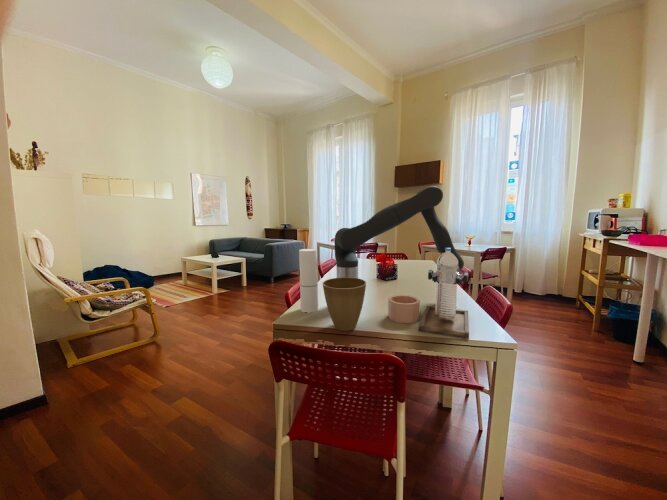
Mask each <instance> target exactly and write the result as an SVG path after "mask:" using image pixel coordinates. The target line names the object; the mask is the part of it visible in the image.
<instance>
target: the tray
mask: <svg viewBox="0 0 667 500" xmlns="http://www.w3.org/2000/svg"><path fill="white" fill-rule="evenodd" d="M420 319H421V320H420V322H419V325H418V332H424V333H431V334H437V335H442V336H448V337H453V338H460V337H461V339H466V338H468V339H467V340H469V339H470V325H469V323H470V322H469V310H466V309H465V310H463V309H457V308H456V316H455V319H453V320H442V319H439V318H437V317H436V315H435V306H431V305H426V308H425V310H424V311H423V315H422V318H420Z"/></svg>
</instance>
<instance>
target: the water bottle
mask: <svg viewBox="0 0 667 500" xmlns="http://www.w3.org/2000/svg"><path fill="white" fill-rule="evenodd" d="M445 251H446V252H445V253H441V254H440V255H439V256H438V258H437V259H436V264H437V268H436V271H437V281H436V282H435V303H434V305H435V306H434V307H435V315H436V317H437V318H439V319H442V320H453V319H455V316H456V309H457V296H458V284H457V270H458V259H457V258H456V256H455V255H454V254H452V253H451V248H445Z"/></svg>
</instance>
